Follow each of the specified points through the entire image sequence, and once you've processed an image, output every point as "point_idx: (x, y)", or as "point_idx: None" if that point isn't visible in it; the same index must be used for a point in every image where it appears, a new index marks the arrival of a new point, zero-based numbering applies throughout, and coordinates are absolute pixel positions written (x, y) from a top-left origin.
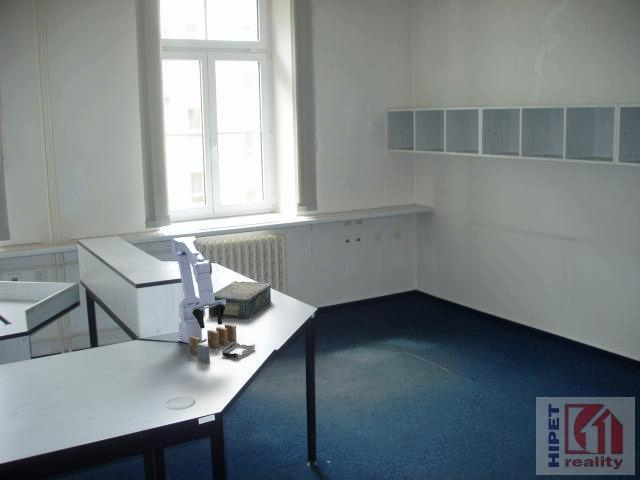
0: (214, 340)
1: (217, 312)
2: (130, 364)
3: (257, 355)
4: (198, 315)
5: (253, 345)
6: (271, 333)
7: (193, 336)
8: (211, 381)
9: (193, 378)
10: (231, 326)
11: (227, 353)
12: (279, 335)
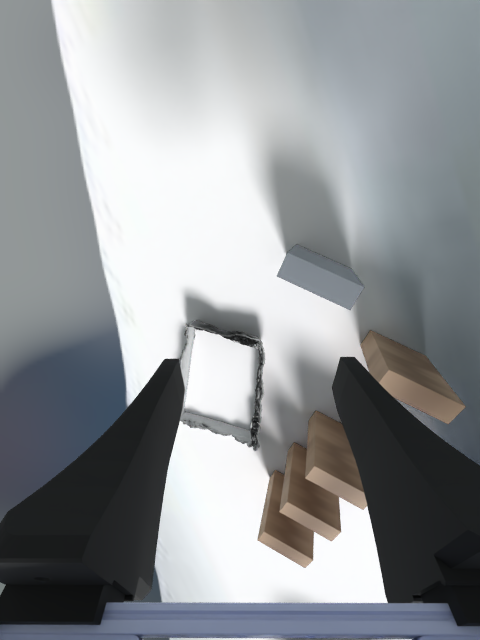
0: (325, 440)
1: (111, 452)
2: None
3: (152, 361)
4: (412, 462)
5: None
6: (194, 530)
7: (434, 416)
8: (189, 16)
9: (292, 15)
10: (273, 536)
11: (233, 334)
12: (167, 514)
